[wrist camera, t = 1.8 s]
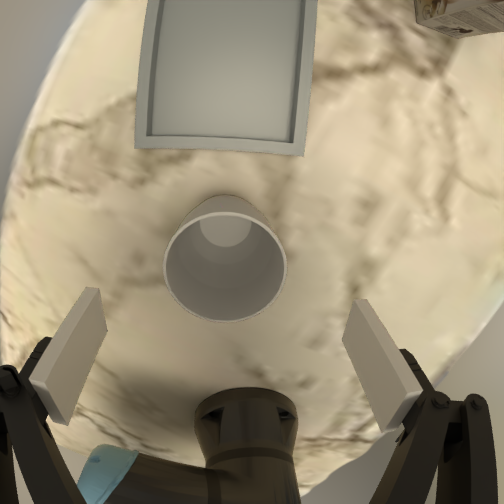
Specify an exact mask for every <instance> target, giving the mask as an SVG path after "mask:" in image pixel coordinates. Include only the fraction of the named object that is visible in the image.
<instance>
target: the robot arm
mask: <svg viewBox="0 0 504 504" xmlns="http://www.w3.org/2000/svg"><path fill="white" fill-rule="evenodd" d="M107 331H108V330H107V326H106V321H105V316H104V311H103V306H102V301H101V296H100V290H99V288H90V287H86V288H85V290H84V291H83V293H82V294H81V295H80V297H79V298H78V300H77V301H76V303H75V304H74V306H73V307H72V309H71V310H70V312H69V313H68V315H67V316H66V318H65V319H64V321H63V322H62V324H61V326H60V327H59V329H58V330H57V332H56V333H55V335H54V337H53V338H51V337H45V338H44V339H42V340H41V341H40V342H38V344H37V345H36V347H35V348H34V350H33V352H32V353H31V355H30V356H29V357H30V358H28V360H27V361H26V363H25V365H24V366H23V368H22V370H21V371H20V373H18V371H17V369H16V368H15V367H14V366H12V365H2V366H0V504H19V500H18V494H17V488H16V481H15V473H14V463H13V453H12V452H13V451H12V446H13V449H14V453H15V455H16V459H17V461H18V464H19V467H20V470H21V473H22V475H23V478H24V481H25V483H26V485H27V488H28V490H29V493H30V495H31V497H32V500H33V502H34V504H301V499H300V494H299V489H298V483H297V478H296V473H295V468H294V463H293V457H292V455H293V450H294V445H295V440H296V434H297V429H298V417H297V412H296V408H295V406H294V404H293V403H292V401H291V400H289V399H288V398H287V397H285V396H284V395H282V394H280V393H277V392H274V391H270V390H266V389H259V388H240V389H233V390H228V391H224V392H220V393H218V394H215V395H213V396H211V397H209V398H207V399H206V400H204V401H203V402H202V403H201V404H200V405H199V406H198V408H197V410H196V413H195V423H194V428H195V433H196V436H197V439H198V441H199V444H200V447H201V450H202V453H203V455H204V458H205V461H206V468H202V467H197V466H192V465H187V464H182V463H178V462H173V461H169V460H165V459H161V458H157V457H153V456H149V455H145V454H142V453H139V452H138V451H136V450H133V451H131V450H127V449H123V448H119V447H116V446H112V445H108V444H103V445H100V446H97V447H96V448H95V449H94V450H93V451H92V452H91V454H90V456H89V458H88V460H87V462H86V464H85V466H84V468H83V471H82V473H81V475H80V478H79V480H78V483H77V485H76V483H75V481H74V479H73V478H72V476H71V474H70V472H69V470H68V468H67V466H66V464H65V462H64V460H63V458H62V456H61V454H60V451H59V449H58V447H57V445H56V442H55V440H54V438H53V435H52V433H51V431H50V428H49V426H48V424H47V422H46V418H47V416H48V414H49V416H50V418H51V419H52V421H53V422H56V423H59V424H63V425H67V426H68V425H69V422H70V419H71V417H72V414H73V411H74V409H75V406H76V403H77V401H78V398H79V396H80V393H81V391H82V388H83V386H84V383H85V381H86V379H87V376H88V374H89V372H90V369H91V367H92V365H93V362H94V360H95V358H96V355H97V353H98V351H99V349H100V346H101V344H102V342H103V340H104V338H105V335H106V333H107ZM342 341H343V343H344V346H345V348H346V350H347V352H348V355H349V357H350V359H351V361H352V364H353V366H354V368H355V371H356V373H357V375H358V378H359V380H360V382H361V384H362V387H363V389H364V392H365V394H366V396H367V399H368V401H369V403H370V406H371V408H372V411H373V413H374V415H375V418H376V420H377V423H378V425H379V428H380V430H381V433H386V432H390V431H395V430H397V429H398V427H399V425H400V424H401V423H403V425H404V427H405V429H404V430H403V432H402V433H401V435H400V436H399V437H398V438H397V440H396V441H395V442H398V443H397V446H396V448H395V451H394V453H393V455H392V457H391V460H390V462H389V464H388V466H387V468H386V471H385V473H384V475H383V477H382V479H381V481H380V483H379V485H378V487H377V489H376V491H375V493H374V495H373V497H372V499H371V501H370V502H369V504H424V503H425V501H426V498H427V495H428V493H429V490H430V487H431V484H432V481H433V478H434V475H435V472H436V469H437V466H438V477H437V491H436V502H435V504H498V486H497V469H496V459H495V458H496V457H495V449H494V440H493V433H492V426H491V420H490V414H489V409H488V404H487V402H486V400H485V399H484V398H483V397H481V396H480V395H478V394H470V395H468V396H467V397H466V399H465V400H464V401H451V400H450V398H449V397H448V396H447V395H446V394H444V393H442V392H438V391H435V390H434V388H433V387H432V385H431V383H430V382H429V380H428V378H427V377H426V375H425V374H424V372H423V370H421V367H420V366H419V364H418V362H417V361H416V359H415V358H414V356H413V355H412V354H411V353H410V352H408V351H407V350H406V349H398V347H397V346H396V344H395V342H394V341H393V339H392V338H391V336H390V334H389V333H388V331H387V330H386V328H385V327H384V325H383V323H382V322H381V320H380V319H379V317H378V316H377V314H376V313H375V311H374V310H373V308H372V307H371V305H370V303H369V302H368V300H367V299H354V301H353V304H352V308H351V311H350V314H349V318H348V321H347V324H346V328H345V331H344V334H343V337H342Z"/></svg>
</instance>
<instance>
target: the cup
mask: <svg viewBox="0 0 504 504" xmlns="http://www.w3.org/2000/svg"><path fill="white" fill-rule="evenodd" d="M163 274H164V279H165V283H166V285H167V288H168V290H169V292H170V294H171V295H172V297H173V298H174V299H175V300H176V302H177V303H178V304H179V305H180V306H181V307H183V308H184V309H185V310H186V311H188V312H189V313H191V314H193V315H195V316H197V317H199V318H202V319H205V320H208V321H213V322H220V323H230V322H238V321H242V320H246V319H249V318H251V317H254V316H256V315H258V314H259V313H261V312H263V311H264V310H265V309H267V308H268V307H269V306H270V305H271V304H272V303H273V302H274V301H275V300H276V298H277V297H278V296H279V294H280V292H281V290H282V288H283V286H284V283H285V280H286V275H287V260H286V255H285V252H284V249H283V247H282V244H281V243H280V241H279V239H278V237H277V236H276V234H275V232H274V231H273V229H272V227H271V226H270V224H269V222H268V221H267V219H266V218H265V217H264V215H263V214H262V213H261V212H259V211H258V210H257V209H256V208H255V207H253V206H252V205H251V204H250V203H249V202H247V201H245V200H244V199H242V198H239V197H236V196H231V195H220V196H215V197H212V198H209V199H207V200H206V201H204V202H202V203H201V204H200V205H199V206H197V207H196V208H195V209H193V210H192V211H191V212H190V213H189V214H188V215H187V216H186V217H185V218H184V220H183V221H182V223H181V225H180V226H179V228H178V229H177V231H176V232H175V234H174V236H173V237H172V239H171V240H170V242H169V244H168V246H167V248H166V251H165V255H164V260H163Z"/></svg>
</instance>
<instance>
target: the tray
mask: <svg viewBox="0 0 504 504" xmlns="http://www.w3.org/2000/svg"><path fill="white" fill-rule="evenodd" d="M317 1H318V0H148V3H147V9H146V16H145V22H144V29H143V37H142V45H141V53H140V63H139V73H138V85H137V99H136V117H135V147H134V149H135V148H177V149H211V150H231V151H247V152H260V153H272V154H283V155H293V156H302V157H304V152H305V143H306V133H307V124H308V114H309V104H310V94H311V83H312V71H313V59H314V47H315V33H316V18H317Z"/></svg>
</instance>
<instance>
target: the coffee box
mask: <svg viewBox="0 0 504 504" xmlns="http://www.w3.org/2000/svg"><path fill="white" fill-rule="evenodd" d="M415 9H416V19H417V23H418V24H421V25H424V26H426V27H429V28H432V29H434V30H437V31H440V32H442V33H445V34H447V35H450V36H452V37H454V38H457V39H459V38H463V37H469V36H475V35H482V34H488V33H496V32H504V0H415Z"/></svg>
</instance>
